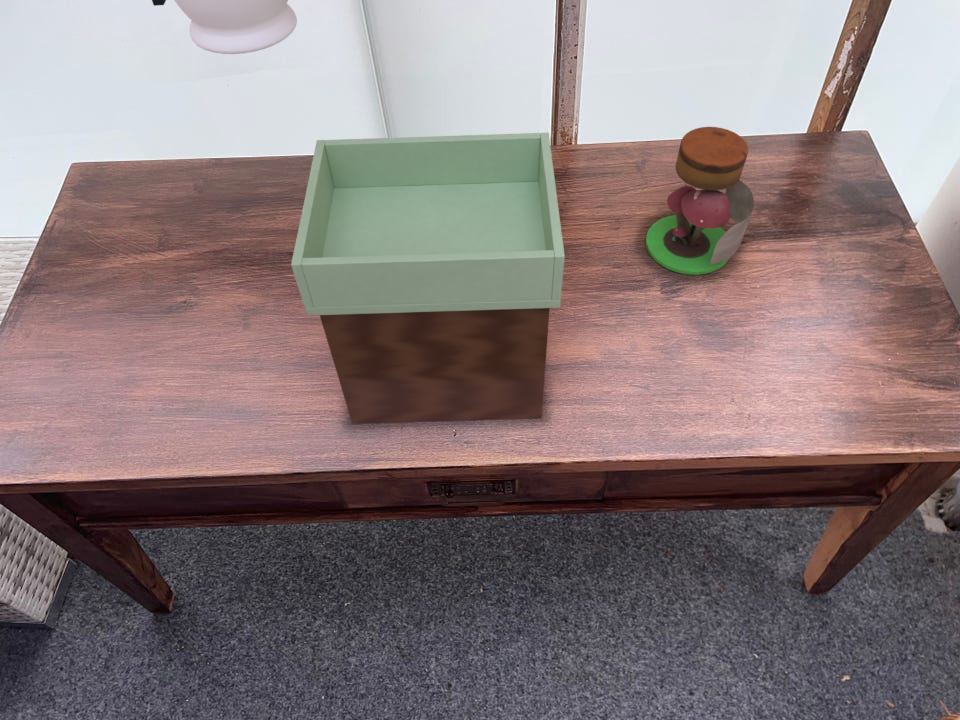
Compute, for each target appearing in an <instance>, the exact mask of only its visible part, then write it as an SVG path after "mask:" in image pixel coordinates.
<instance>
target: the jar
mask: <svg viewBox="0 0 960 720" xmlns="http://www.w3.org/2000/svg"><path fill="white" fill-rule="evenodd" d="M174 2H175V4H176V5H177V6H178V7H179V9H180V10H181V11H182V12H183V13H184V15H186V17H187V18H188V19H189V20H190V25H189V36H190V39H191V40H192V41H191V42H193V43H194V44H195V45H196V46H197V47H198V48H201V49H203V50H204V51H208V52H211V53H214V54H215V53H216V54H221V55H239V54H241V55H242V54H248V53H253V52H258V51H263V50H265V49H268V48H271V47H273V46H275V45H277V44H279V43H281V42H283V41H284V40H286V39H287V38H289V36H290V35H292V34H293V32H294V30H295V29H296V27H297V24H298V19H297V15H296V13H295V11H294V9H293V8H292V7H291V6H290V5H289V4H288V2H289V0H174Z"/></svg>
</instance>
